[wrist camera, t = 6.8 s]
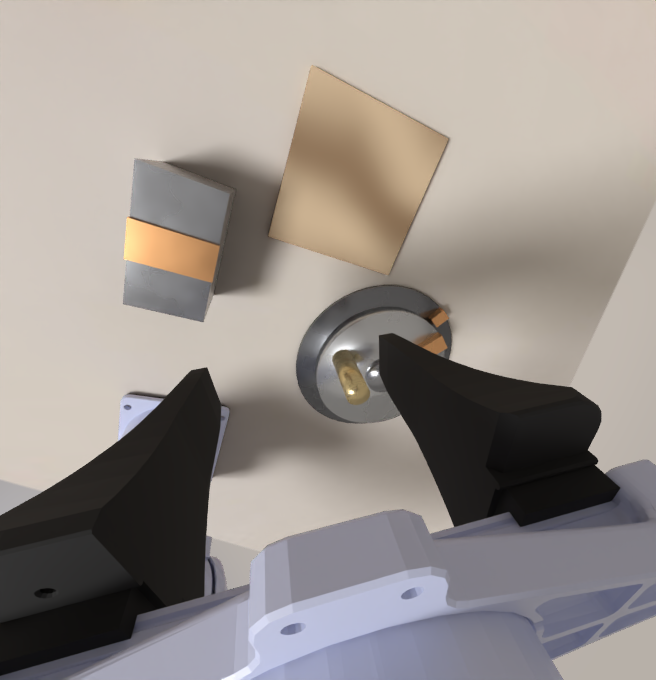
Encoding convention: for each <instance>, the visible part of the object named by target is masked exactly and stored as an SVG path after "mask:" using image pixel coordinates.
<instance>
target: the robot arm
mask: <svg viewBox="0 0 656 680" xmlns="http://www.w3.org/2000/svg"><path fill="white" fill-rule="evenodd" d="M379 374H380V377H381V379H382V381H383V384H384V386H385V388H386V390H387V393H388V394H389V396H390V398H391V399H392V401H393V403H394V404H395V406H396V407H397V409H398V411H399V412H400V414H401V416H402V417H403V419H404V420H405V422H406V424H407V425H408V427H409V428H410V430H411V432H412V433H413V435H414V437H415V439H416V441H417V443H418V445H419V447H420V449H421V451H422V453H423V455H424V457H425V459H426V461H427V464H428V466H429V468H430V470H431V473H432V475H433V477H434V479H435V481H436V484H437V486H438V488H439V491H440V493H441V495H442V498H443V500H444V503H445V505H446V507H447V510H448V512H449V515H450V517H451V520H452V522H453V525H454V527H453V528H449V529H446V530H442V531H439V532H435V533H431V534H430V533H429V531H428V529H427V527H426V525H425V523H424V520H423V518H422V516H420V515H418V514H415V513H412V512H409V511H406V510H403V509H402V510H392V511H383V512H380V513H376V514H372V515H368V516H364V517H361V518H357V519H353V520H349V521H345V522H342V523H338V524H334V525H330V526H326V527H322V528H319V529H315V530H311V531H307V532H303V533H300V534H296V535H292V536H288V537H286V538H283V539H281V540H278V541H276V542H274V543H271V544H269V545H267V546H266V547H265V548H264V549H263V550H262V551H261V552H260V553H259V554H258V555H257V556H256V557H255V558H254V559H253V560H252V561H251V568H250V584H248V585H244V586H240V587H237V588H233V589H230V590H227V582H226V577H225V573H224V569H223V565H222V563H221V561H220V560H219V559H218V558H216V557H213V556H210V548H211V541H212V537H210V536H206V530H207V513H208V500H209V489H210V483H211V481H212V477H213V473H214V470H215V466H216V462H217V458H218V455H219V451H220V447H221V443H222V440H223V436H224V432H225V428H226V425H227V421H228V417H229V412H230V410H229V408H227V407H224V406H221V404H220V401H219V398H218V395H217V393H216V390H215V387H214V385H213V382H212V379H211V377H210V374H209V371H208V368H201V369H196V370H191V371H190V372H189V373H188V374H187V375H186V376H185V377H184V378H183V379H182V380H181V382H180V383H179V384H178V385H177V386H176V387H175V388H174V389H173V390H172V391H171V392H170V393H169V394H168V395H167V396H166V398H165V399H162V398H154V397H146V396H139V395H131V394H127V395H124V396H123V397H122V399H121V404H120V419H119V433H118V442H116V443H115V444H114V445H112V446H111V447H110V448H108V449H107V450H106V451H104V452H103V453H101V454H100V455H99V456H97V457H96V458H94V459H93V460H92V461H90V462H89V463H88V464H86V465H85V466H83V467H82V468H80V469H79V470H77V471H76V472H74V473H73V474H71V475H69V476H68V477H66V478H65V479H63V480H62V481H60V482H58V483H57V484H55V485H53V486H52V487H50V488H49V489H47V490H45V491H43V492H42V493H40V494H38V495H37V496H35V497H33V498H31V499H29V500H28V501H26V502H24V503H22V504H20V505H19V506H17V507H15V508H13V509H11V510H10V511H8V512H6V513H4V514H2V515H1V516H0V680H563V678H562V676H561V675H560V673H559V672H558V670H557V668H556V666H555V665H554V663H553V661H552V660H554V659H556V658H558V657H561V656H563V655H565V654H568V653H570V652H572V651H574V650H576V649H579V648H581V647H584V646H586V645H588V644H591V643H593V642H595V641H598V640H600V639H602V638H605V637H607V636H609V635H612V634H614V633H616V632H619V631H621V630H623V629H626V628H628V627H630V626H633V625H635V624H637V623H640V622H642V621H644V620H647V619H650V618H652V617H655V616H656V465H655V464H653V463H652V462H651V461H649V460H641V461H637V462H633V463H629V464H625V465H622V466H618V467H615V468H613V469H611V470H609V471H608V472H607V473H606V474H604V473H603V472H602V471H601V470H600V469H598V468H597V467H596V466H595V465H596V464H597V463H598V459H597V458H596V457H595V456H594V455H593V454H592V453H590V452H589V451H588V448H589V446H590V444H591V442H592V440H593V439H594V437H595V435H596V433H597V431H598V428H599V426H600V423H601V410H600V408H599V407H598V405H596V404H595V403H594V402H592V401H591V400H589V399H588V398H586V397H585V396H584V395H582V394H581V393H579V392H578V391H577V390H575V389H573V388H572V387H565V386H556V385H548V384H540V383H533V382H528V381H522V380H517V379H512V378H507V377H503V376H499V375H495V374H491V373H487V372H483V371H480V370H476V369H473V368H470V367H467V366H464V365H462V364H459V363H456V362H453V361H451V360H448V359H446V358H444V357H441V356H439V355H437V354H435V353H432V352H430V351H428V350H426V349H424V348H422V347H420V346H418V345H416V344H414V343H412V342H410V341H408V340H406V339H404V338H402V337H401V336H398V335H396V334H394V333H389V334H383V335H379ZM127 405H130V407H129V406H127ZM221 416H224V417H221Z"/></svg>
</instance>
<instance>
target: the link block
mask: <svg viewBox="0 0 656 680" xmlns="http://www.w3.org/2000/svg"><path fill="white" fill-rule="evenodd" d="M235 192H236V189H234V188H231V187H229V186H226V185H223V184H221V183H218V182H215V181H213V180H210V179H207V178H205V177H202V176H200V175H197V174H194V173H192V172H189V171H186V170H184V169H181V168H178V167H176V166H173V165H171V164H168V163H165V162H162V161H153V160H143V159H135V160H134V172H133V185H132V197H131V210H130V217H127V224H126V237H125V250H124V259H125V260H126V272H125V284H124V296H123V304H125V305H130V306H134V307H138V308H143V309H147V310H152V311H156V312H161V313H165V314H169V315H174V316H178V317H183V318H187V319H192V320H196V321H200V322H204V319H205V316H206V314H207V311H208V308H209V306H210V303H211V301H212V298H213V295H214V291H215V286H216V282H217V277H218V272H219V267H220V263H221V258H222V253H223V249H224V244H225V239H226V235H227V230H228V225H229V220H230V216H231V211H232V206H233V202H234V197H235Z"/></svg>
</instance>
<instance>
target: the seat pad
mask: <svg viewBox="0 0 656 680" xmlns="http://www.w3.org/2000/svg"><path fill="white" fill-rule="evenodd" d="M447 142H448V138H446V137H445V136H443V135H441V134H439V133H437V132H435V131H433V130H432V129H430V128H428V127H426V126H424V125H422V124H420V123H419V122H417V121H415V120H413V119H411V118H409V117H407V116H406V115H404V114H402V113H400V112H398V111H396V110H395V109H393V108H391V107H389V106H387V105H385V104H383V103H382V102H380V101H378V100H376V99H374V98H372V97H370V96H369V95H367V94H365V93H363V92H361V91H359V90H358V89H356V88H354V87H352V86H350V85H348V84H346V83H345V82H343V81H341V80H339V79H337V78H335V77H333V76H332V75H330V74H328V73H326V72H324V71H322V70H321V69H319V68H317V67H315V66H313V65H312V66H311V69H310V73H309V77H308V81H307V84H306V88H305V92H304V96H303V100H302V104H301V108H300V112H299V116H298V120H297V124H296V128H295V132H294V136H293V139H292V143H291V147H290V151H289V155H288V159H287V163H286V167H285V171H284V175H283V179H282V183H281V187H280V190H279V194H278V198H277V202H276V206H275V210H274V214H273V218H272V222H271V226H270V230H269V234H268V237H271V238H274V239H278V240H281V241H284V242H287V243H290V244H293V245H296V246H299V247H302V248H305V249H308V250H312V251H315V252H318V253H321V254H324V255H327V256H330V257H333V258H336V259H339V260H342V261H345V262H349V263H352V264H355V265H358V266H361V267H364V268H367V269H370V270H373V271H376V272H379V273H383V274H386V275H389V272H390V270H391V268H392V266H393V263H394V261H395V259H396V257H397V254H398V252H399V250H400V248H401V245H402V243H403V241H404V239H405V236H406V234H407V232H408V230H409V227H410V225H411V223H412V221H413V218H414V216H415V214H416V211H417V209H418V207H419V205H420V202H421V200H422V198H423V196H424V193H425V191H426V189H427V187H428V184H429V182H430V180H431V178H432V175H433V173H434V171H435V169H436V166H437V164H438V162H439V160H440V157H441V155H442V153H443V151H444V148H445V146H446V144H447Z"/></svg>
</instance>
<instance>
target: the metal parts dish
mask: <svg viewBox="0 0 656 680" xmlns="http://www.w3.org/2000/svg"><path fill="white" fill-rule="evenodd" d="M389 306H392V307H401V308H405V309H408V310H411V311H413V312H415V313H417V314H418V315H420V316H421V317H423V318H424V319H425V320H426V321H427V322H428V323H429V324H431V325H432V326H433V327H434V328H435V330H436V331H437V332H439V333H440V334H441V335H442V336H443V339H444V341H445V343H446V345H447V349H445V350H444V358H446V359H449V355H450V351H451V332H450V327H449V324H448V321H447V319H449V317H448V316H447V315H446V313H445V312H444V310H443V309H441V308H439V306H438V305H437V304H436V303H435V302H433V301H432V300H431V299H430V298H429V297H427V296H425V295H424V294H422V293H420V292H418V291H416V290H413V289H410V288H406V287H402V286H393V285H385V286H375V287H369V288H365V289H362V290H359V291H356V292H353V293H351V294H349V295H347V296H344V297H343V298H341V299H339V300H338V301H336V302H334V303H333V304H332V305H330V306H329V307H328V308H327V309H325V310H324V311H323V312H322V313H321V314H320V315H319V316H318V317H317V318H316V319H315V321H314V322H313V323H312V324H311V326H310V327H309V329H308V330H307V332H306V334H305V335H304V337H303V339H302V342H301V344H300V347H299V350H298V354H297V361H296V374H297V380H298V384H299V387H300V390H301V392H302V394H303V396H304V397H305V399H306V400H307V401H308V403H309V404H310V405H311V406H312V407H313V408H314V409H315V410H317V411H318V412H320V413H321V414H323V415H324V416H326V417H329V418H331V419H334V420H337V421H341V422H346V423H358V422H353V421H349V420H346V419H343V418H341V417H339V416H337V415H336V414H334V413H333V412H331V411H330V410H329V409H328V408H327V407H326V405H325V404H324V402H323V401H322V399H321V397H320V394H319V391H318V387H317V383H316V379H315V364H316V359H317V356H318V353H319V351H320V349H321V347H322V345H323V343H324V342H325V340H326V339H327V337H328V336H329V335H330V334H331V333H332V331H333V330H334V329H336V328H337V327H338V326H339V325H340V324H341V323H343V322H344V321H345V320H347V319H348V318H350V317H352V316H354V315H356V314H358V313H360V312H363V311H365V310H369V309H372V308H377V307H389Z"/></svg>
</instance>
